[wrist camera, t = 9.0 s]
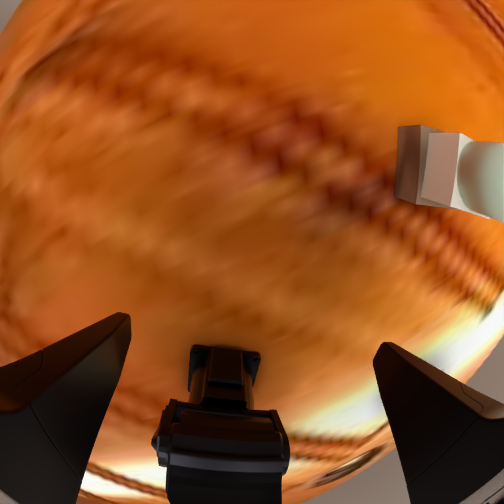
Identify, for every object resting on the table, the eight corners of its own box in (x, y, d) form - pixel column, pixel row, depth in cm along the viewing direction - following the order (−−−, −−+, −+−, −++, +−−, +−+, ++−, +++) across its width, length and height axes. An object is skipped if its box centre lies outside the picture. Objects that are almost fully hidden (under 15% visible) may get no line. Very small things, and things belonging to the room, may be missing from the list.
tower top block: (461, 208, 18) (489, 219, 14) (420, 196, 17) (450, 206, 14) (469, 151, 16) (498, 155, 13) (429, 133, 16) (459, 132, 12)
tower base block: (441, 202, 21) (465, 210, 18) (392, 196, 21) (415, 204, 17) (445, 140, 19) (470, 141, 16) (396, 127, 19) (420, 124, 15)
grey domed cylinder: (485, 220, 14) (523, 237, 11) (448, 196, 14) (492, 210, 10) (500, 160, 13) (538, 167, 9) (464, 127, 12) (508, 128, 8)
